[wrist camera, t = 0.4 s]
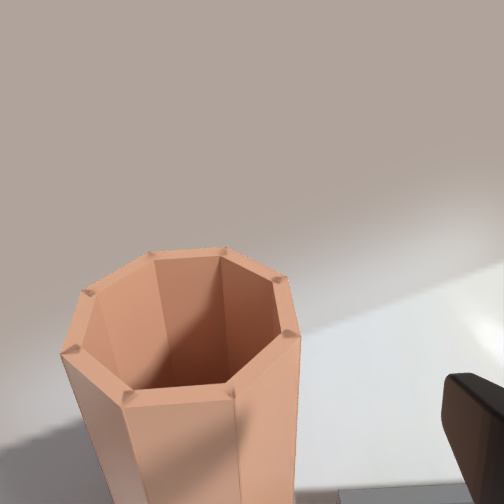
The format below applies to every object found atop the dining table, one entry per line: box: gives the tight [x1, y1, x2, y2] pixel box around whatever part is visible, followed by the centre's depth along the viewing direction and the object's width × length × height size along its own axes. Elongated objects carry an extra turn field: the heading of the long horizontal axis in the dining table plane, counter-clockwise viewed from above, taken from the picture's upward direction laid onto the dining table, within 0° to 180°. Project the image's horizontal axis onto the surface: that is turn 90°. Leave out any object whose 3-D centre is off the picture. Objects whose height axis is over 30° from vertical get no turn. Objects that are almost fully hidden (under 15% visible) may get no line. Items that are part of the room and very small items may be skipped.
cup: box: [60, 247, 301, 504], centre depth 18 cm, size 6×6×13 cm
